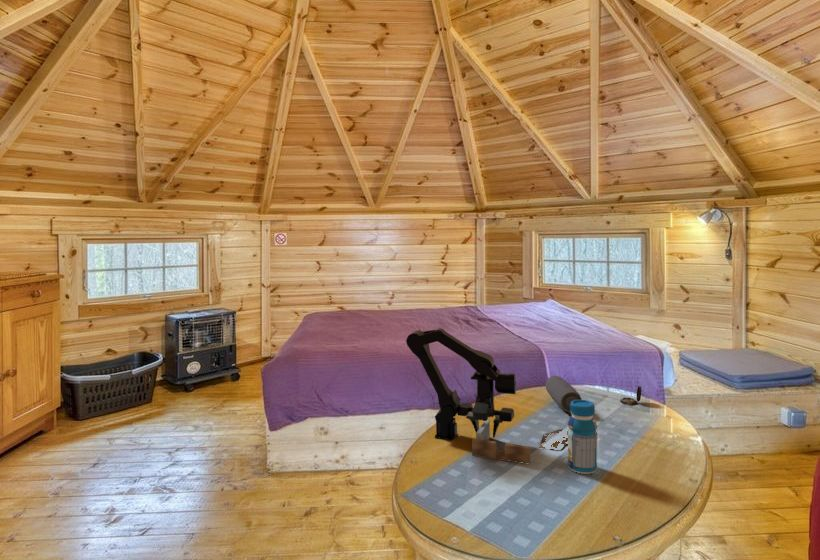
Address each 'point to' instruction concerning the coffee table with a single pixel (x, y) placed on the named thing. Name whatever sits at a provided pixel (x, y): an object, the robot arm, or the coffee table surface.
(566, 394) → the bluetooth speaker
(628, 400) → the compass
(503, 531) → the coffee table surface
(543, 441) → the wooden fragment
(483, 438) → the tapered grey plank
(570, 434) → the beverage bottle
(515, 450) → the stepped wooden block
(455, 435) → the robot arm
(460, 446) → the coffee table surface
